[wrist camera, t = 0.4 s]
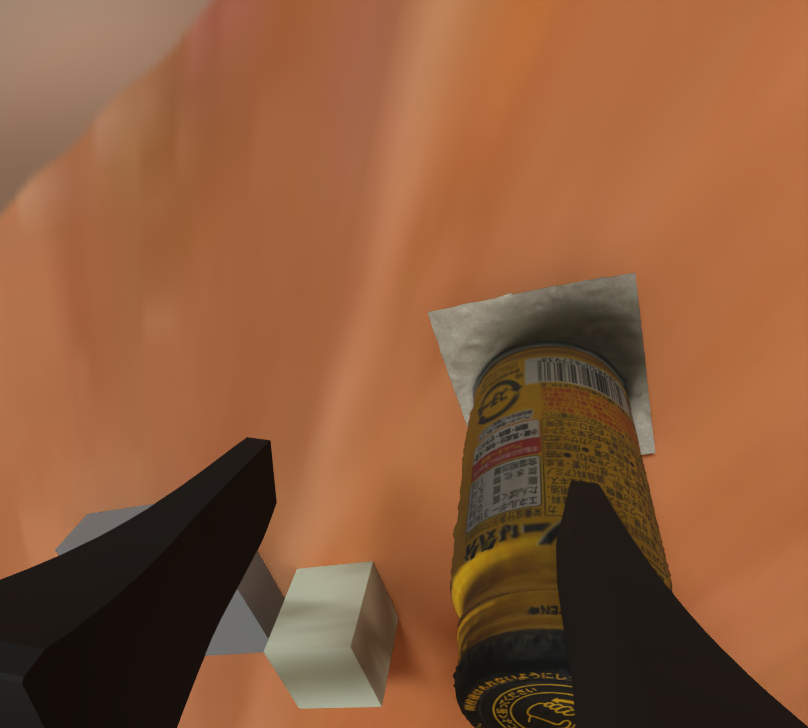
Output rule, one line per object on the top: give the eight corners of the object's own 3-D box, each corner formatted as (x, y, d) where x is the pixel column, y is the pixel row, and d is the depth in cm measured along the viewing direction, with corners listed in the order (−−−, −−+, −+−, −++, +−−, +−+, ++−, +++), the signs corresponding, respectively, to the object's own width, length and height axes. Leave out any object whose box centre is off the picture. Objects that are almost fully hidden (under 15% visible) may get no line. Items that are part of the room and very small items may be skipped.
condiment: (481, 467, 26) (459, 775, 16) (427, 309, 21) (352, 602, 12) (654, 449, 23) (748, 793, 14) (634, 267, 19) (750, 589, 9)
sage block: (399, 617, 32) (381, 706, 27) (326, 622, 33) (299, 708, 29) (373, 560, 30) (350, 647, 25) (297, 567, 31) (263, 651, 27)
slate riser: (293, 604, 33) (276, 651, 31) (167, 615, 36) (141, 659, 33) (227, 488, 29) (200, 530, 27) (91, 509, 32) (54, 550, 29)
